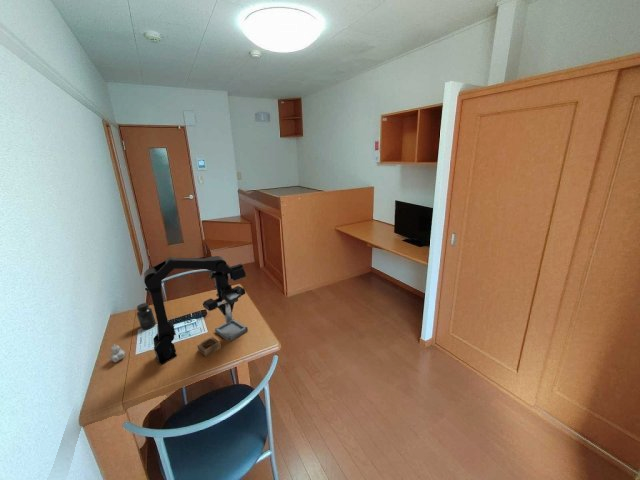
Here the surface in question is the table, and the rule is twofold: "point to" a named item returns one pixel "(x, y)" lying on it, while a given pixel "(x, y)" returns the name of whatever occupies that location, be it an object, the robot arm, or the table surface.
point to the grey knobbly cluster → (116, 353)
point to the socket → (211, 349)
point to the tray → (231, 330)
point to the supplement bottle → (145, 316)
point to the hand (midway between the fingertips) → (228, 313)
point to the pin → (228, 312)
